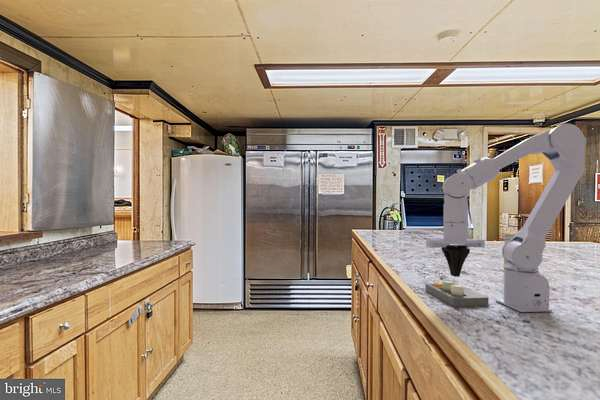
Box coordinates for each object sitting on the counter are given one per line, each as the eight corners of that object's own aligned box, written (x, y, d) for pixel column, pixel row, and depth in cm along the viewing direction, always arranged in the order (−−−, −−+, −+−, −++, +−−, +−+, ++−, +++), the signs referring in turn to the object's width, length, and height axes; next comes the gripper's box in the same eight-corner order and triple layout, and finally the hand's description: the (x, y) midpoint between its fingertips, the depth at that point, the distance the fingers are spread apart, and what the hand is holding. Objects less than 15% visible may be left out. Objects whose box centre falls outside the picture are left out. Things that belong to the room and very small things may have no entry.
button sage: (456, 292, 96) (456, 283, 96) (445, 292, 96) (445, 283, 96) (450, 289, 99) (450, 280, 99) (440, 290, 99) (440, 281, 99)
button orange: (447, 293, 101) (447, 284, 101) (437, 293, 100) (437, 284, 100) (442, 290, 104) (442, 282, 104) (432, 290, 103) (432, 282, 103)
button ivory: (466, 297, 92) (466, 287, 92) (454, 297, 91) (454, 287, 91) (459, 294, 95) (459, 284, 95) (448, 294, 94) (448, 285, 94)
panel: (488, 305, 90) (488, 297, 90) (453, 306, 89) (453, 298, 89) (455, 290, 105) (455, 283, 105) (425, 291, 104) (425, 283, 104)
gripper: (474, 221, 99) (473, 272, 99) (421, 221, 98) (420, 273, 98) (489, 222, 92) (489, 277, 92) (433, 223, 91) (433, 278, 91)
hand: (455, 275), depth 94 cm, fingers closed
